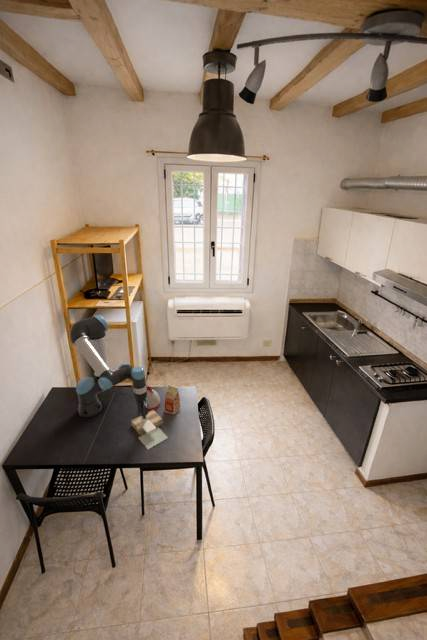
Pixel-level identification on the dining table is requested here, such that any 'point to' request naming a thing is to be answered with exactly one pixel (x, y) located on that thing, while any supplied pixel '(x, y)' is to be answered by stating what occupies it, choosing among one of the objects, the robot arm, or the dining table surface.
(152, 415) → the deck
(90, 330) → the robot arm
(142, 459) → the dining table surface
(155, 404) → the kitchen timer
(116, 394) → the dining table surface
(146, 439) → the mat
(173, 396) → the milk carton
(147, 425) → the white flat block
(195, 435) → the dining table surface
